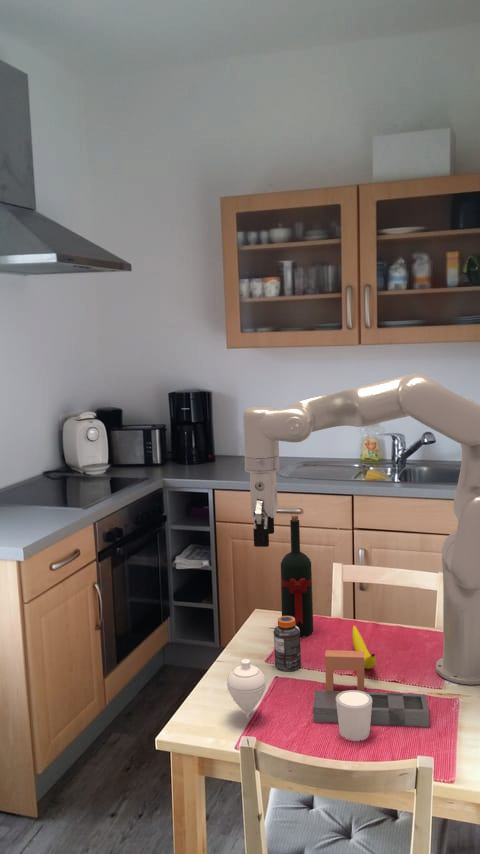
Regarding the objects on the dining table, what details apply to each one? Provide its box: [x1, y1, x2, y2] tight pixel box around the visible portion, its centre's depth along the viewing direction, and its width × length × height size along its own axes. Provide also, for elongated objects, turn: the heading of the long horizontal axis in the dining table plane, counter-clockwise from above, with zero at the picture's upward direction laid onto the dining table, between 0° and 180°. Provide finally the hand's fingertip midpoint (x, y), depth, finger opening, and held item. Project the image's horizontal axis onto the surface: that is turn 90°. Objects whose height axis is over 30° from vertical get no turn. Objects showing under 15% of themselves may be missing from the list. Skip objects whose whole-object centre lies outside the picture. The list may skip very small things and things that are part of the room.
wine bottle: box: [280, 514, 314, 638], centre depth 187 cm, size 8×10×30 cm
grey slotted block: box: [312, 689, 430, 728], centre depth 149 cm, size 22×7×3 cm, turn 81°
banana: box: [351, 624, 377, 670], centre depth 171 cm, size 3×19×6 cm, turn 4°
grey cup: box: [336, 689, 372, 742], centre depth 142 cm, size 7×7×7 cm
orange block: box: [324, 649, 366, 692], centre depth 159 cm, size 8×3×8 cm, turn 81°
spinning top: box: [226, 658, 267, 719], centre depth 149 cm, size 8×8×12 cm
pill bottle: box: [273, 615, 302, 672], centre depth 170 cm, size 6×6×11 cm
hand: (264, 539), depth 167 cm, fingers open, 9 cm apart
